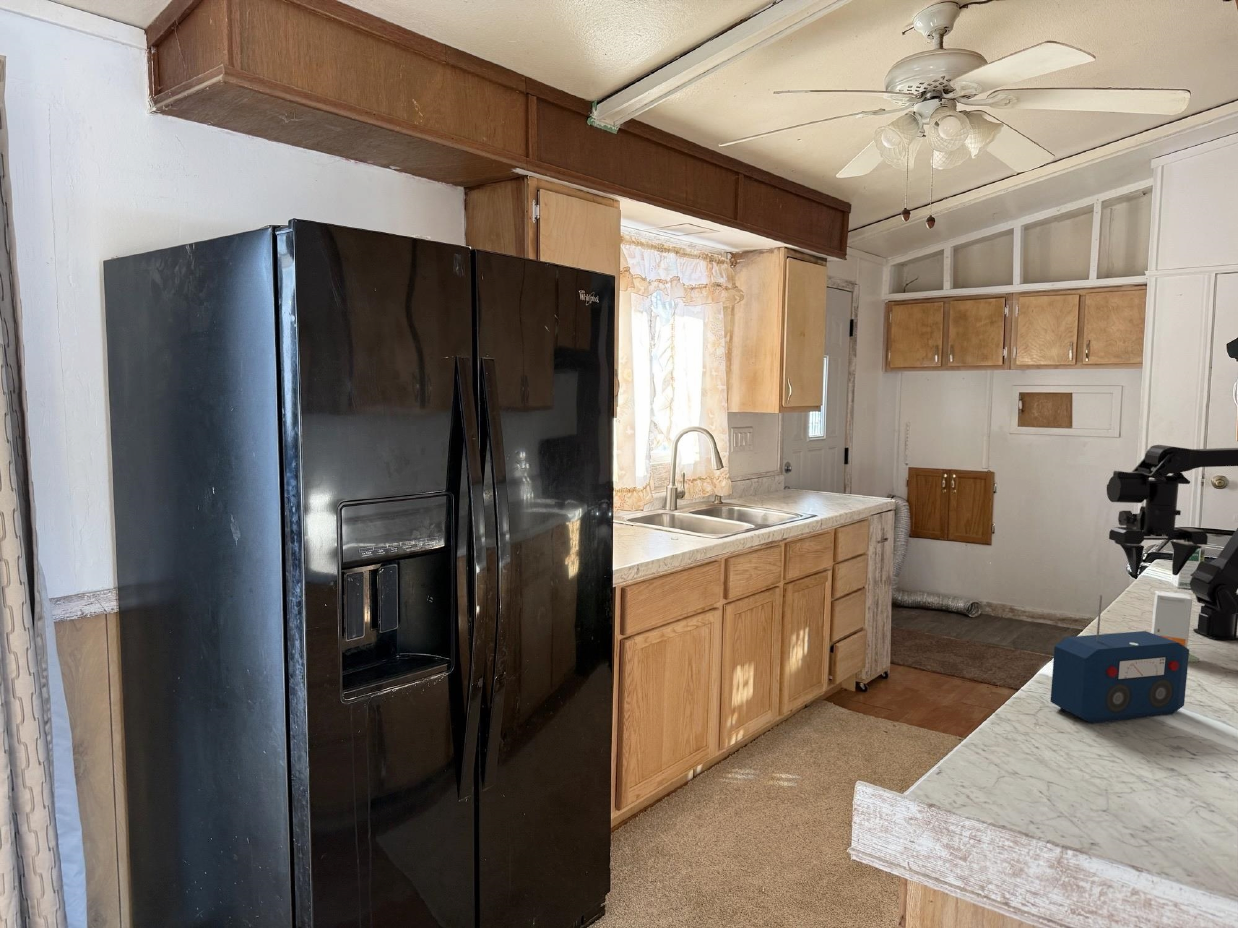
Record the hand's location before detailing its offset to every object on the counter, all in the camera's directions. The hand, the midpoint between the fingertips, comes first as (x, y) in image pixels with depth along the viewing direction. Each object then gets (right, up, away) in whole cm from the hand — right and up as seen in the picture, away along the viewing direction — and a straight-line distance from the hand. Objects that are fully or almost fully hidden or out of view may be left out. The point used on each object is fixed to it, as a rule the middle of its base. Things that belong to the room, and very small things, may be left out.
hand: (1154, 574), depth 185 cm
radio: (-33, -17, -43) cm, 57 cm away
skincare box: (-6, -14, -14) cm, 21 cm away
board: (-6, -14, -10) cm, 19 cm away
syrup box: (+37, -9, +45) cm, 59 cm away
